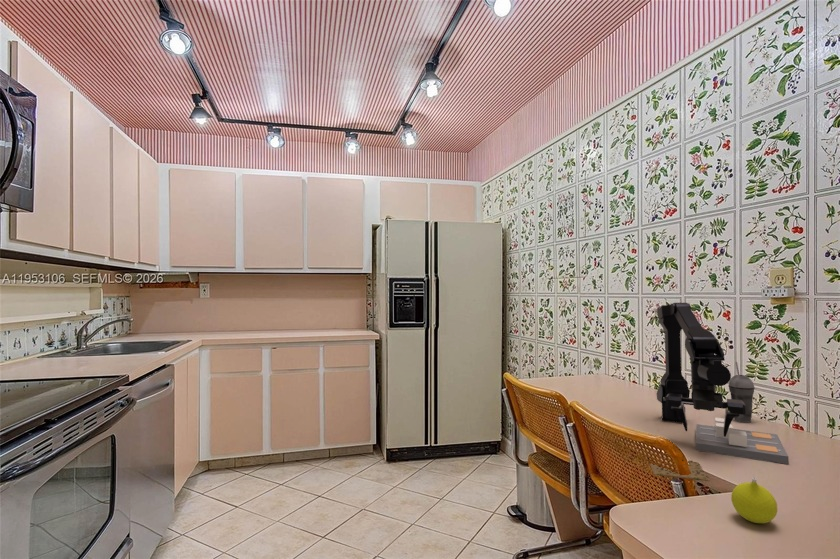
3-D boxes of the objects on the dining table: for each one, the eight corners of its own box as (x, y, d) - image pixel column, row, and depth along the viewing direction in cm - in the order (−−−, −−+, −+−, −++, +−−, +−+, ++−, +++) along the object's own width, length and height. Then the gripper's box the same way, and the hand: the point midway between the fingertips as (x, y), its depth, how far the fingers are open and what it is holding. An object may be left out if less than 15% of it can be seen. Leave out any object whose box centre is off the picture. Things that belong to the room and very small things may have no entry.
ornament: (753, 532, 80) (751, 477, 80) (723, 513, 87) (721, 463, 87) (788, 529, 81) (786, 475, 81) (755, 510, 88) (753, 461, 88)
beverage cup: (761, 424, 142) (758, 363, 143) (736, 423, 144) (733, 363, 145) (749, 418, 150) (746, 360, 150) (725, 417, 151) (723, 360, 152)
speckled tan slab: (646, 458, 117) (646, 455, 117) (698, 464, 113) (698, 460, 113) (652, 476, 106) (652, 472, 106) (710, 483, 101) (710, 479, 101)
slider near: (729, 444, 119) (728, 433, 119) (728, 440, 122) (728, 429, 122) (747, 447, 117) (746, 435, 117) (746, 442, 120) (745, 431, 120)
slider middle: (716, 436, 125) (716, 426, 125) (716, 432, 129) (715, 422, 129) (733, 438, 123) (733, 428, 123) (732, 434, 126) (732, 424, 127)
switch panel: (695, 450, 121) (695, 442, 121) (696, 430, 138) (696, 423, 138) (788, 464, 110) (788, 455, 110) (777, 441, 127) (777, 433, 127)
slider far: (715, 430, 130) (715, 420, 130) (715, 427, 134) (715, 417, 134) (732, 432, 128) (731, 422, 128) (731, 429, 131) (731, 419, 132)
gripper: (663, 380, 122) (665, 436, 122) (745, 387, 112) (748, 448, 112) (666, 374, 132) (668, 425, 131) (742, 379, 121) (745, 436, 121)
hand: (705, 433), depth 123 cm, fingers open, 9 cm apart
